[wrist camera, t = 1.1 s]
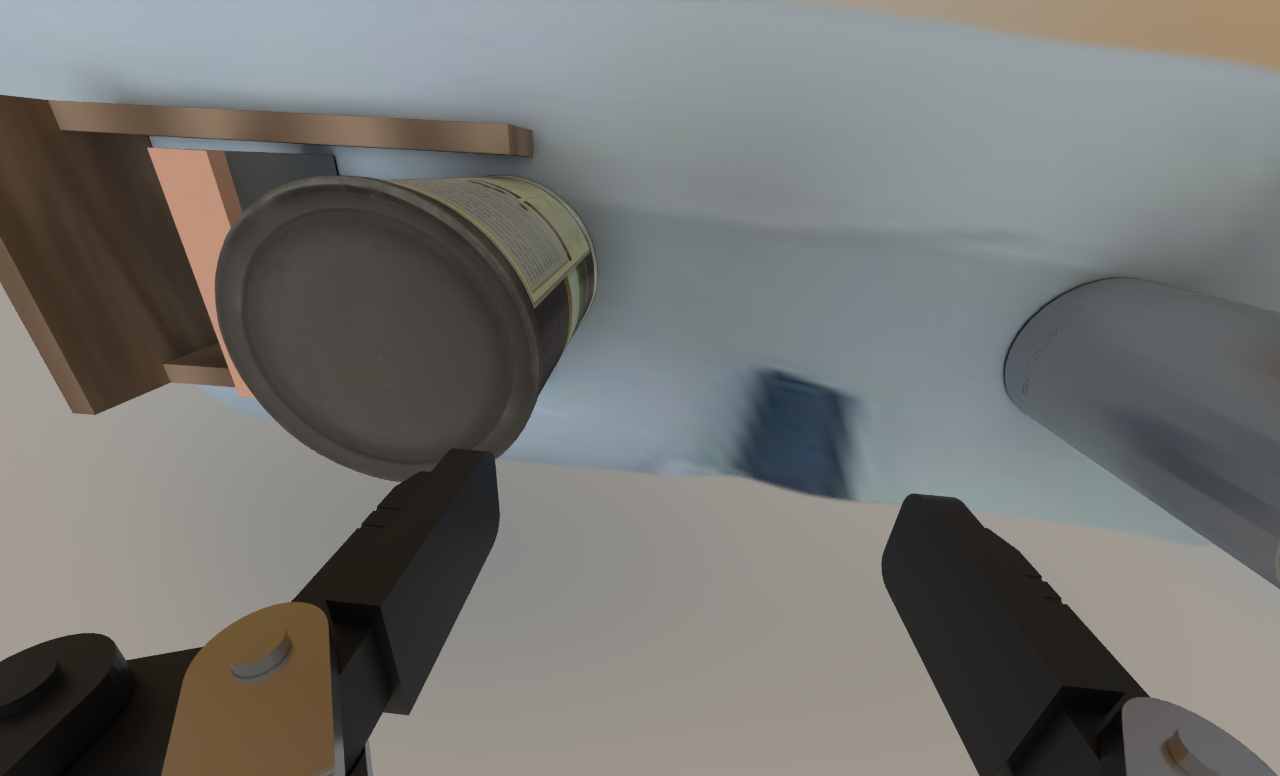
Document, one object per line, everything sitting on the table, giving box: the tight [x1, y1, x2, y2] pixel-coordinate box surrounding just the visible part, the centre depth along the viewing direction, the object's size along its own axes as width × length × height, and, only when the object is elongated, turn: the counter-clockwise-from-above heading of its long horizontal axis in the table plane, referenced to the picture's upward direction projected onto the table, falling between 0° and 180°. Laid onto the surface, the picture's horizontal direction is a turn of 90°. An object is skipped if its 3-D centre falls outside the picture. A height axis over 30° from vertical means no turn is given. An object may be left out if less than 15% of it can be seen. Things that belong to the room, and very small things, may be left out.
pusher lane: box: [0, 95, 533, 415], centre depth 24 cm, size 23×14×8 cm, turn 87°
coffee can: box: [215, 175, 597, 482], centre depth 21 cm, size 10×10×14 cm
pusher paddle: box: [147, 148, 337, 398], centre depth 24 cm, size 2×11×8 cm, turn 178°
